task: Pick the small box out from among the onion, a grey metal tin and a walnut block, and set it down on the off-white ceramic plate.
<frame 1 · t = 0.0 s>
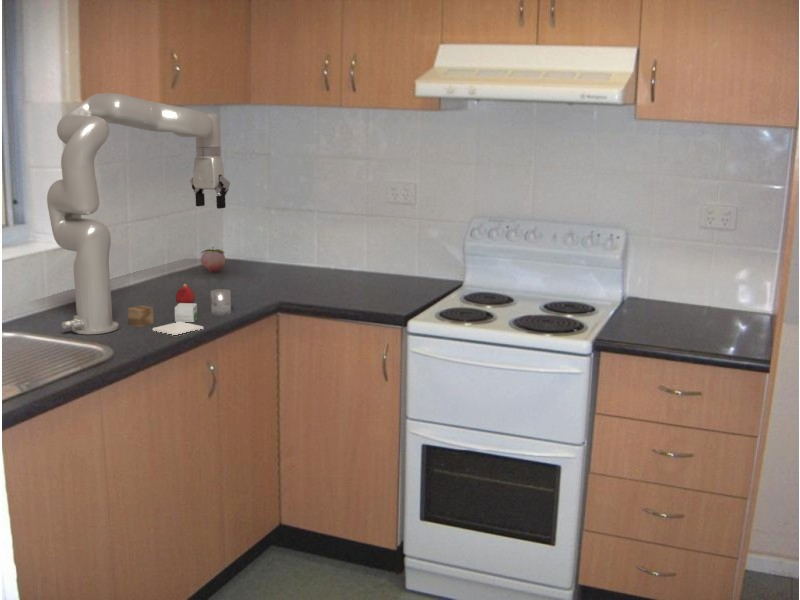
hand: (210, 207, 280), 31 cm above the worktop, tool pointing down, fingers open, 9 cm apart
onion: (185, 309, 277), on the worktop
walnut block: (141, 324, 257), on the worktop
small box: (186, 321, 262), on the worktop
tin: (221, 313, 272), on the worktop
plate: (178, 330, 251), on the worktop
decorative fruit: (214, 272, 338), on the worktop
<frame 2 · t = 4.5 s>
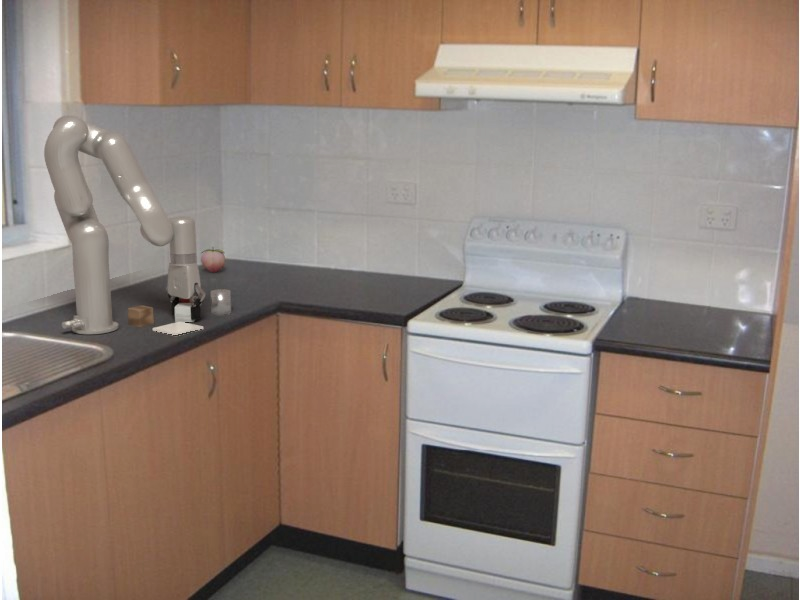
hand: (186, 316, 262), 1 cm above the worktop, tool pointing down, fingers closed on small box, 7 cm apart
small box: (186, 321, 262), on the worktop, touching gripper
everything else where it was.
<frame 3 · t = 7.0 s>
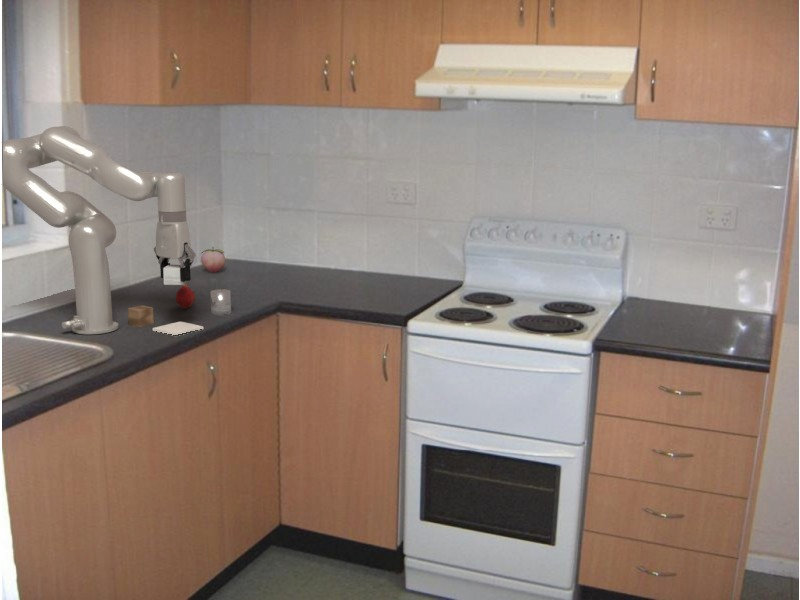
hand: (175, 278, 248), 15 cm above the worktop, tool pointing down, fingers closed on small box, 7 cm apart
small box: (176, 283, 248), point 13 cm above the worktop, touching gripper
everything else where it was.
when the fingers open (3 cm above the worktop, at t = 10.0 s): small box drops 1 cm, resting on plate.
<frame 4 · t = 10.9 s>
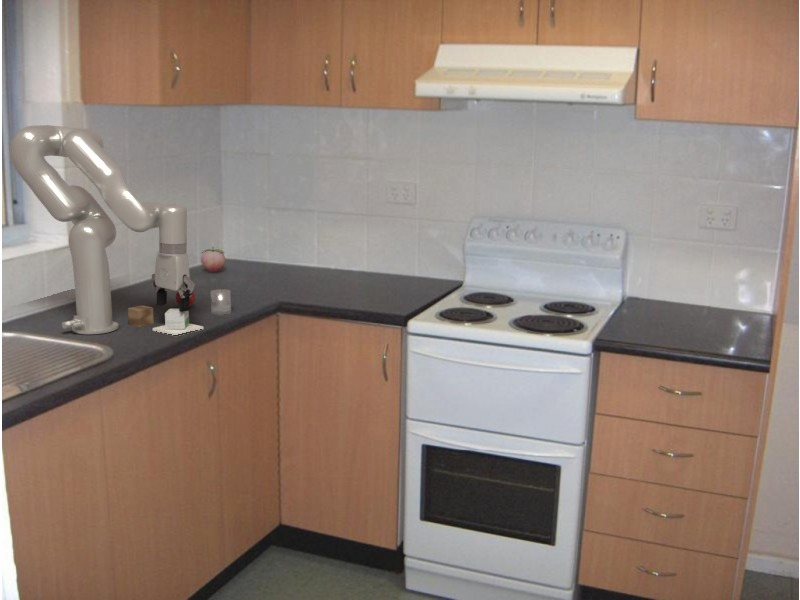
hand: (172, 308, 250), 6 cm above the worktop, tool pointing down, fingers open, 9 cm apart
small box: (177, 327, 251), point 1 cm above the worktop, touching plate
everything else where it was.
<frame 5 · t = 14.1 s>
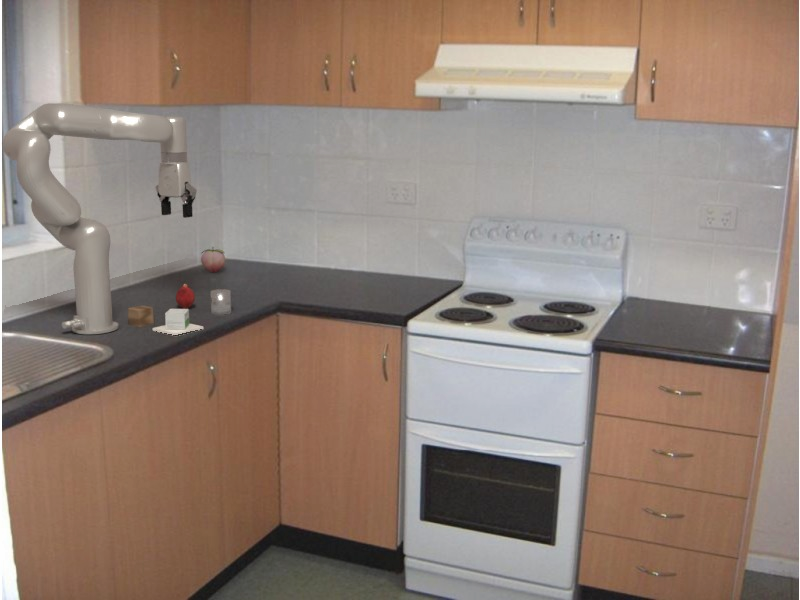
hand: (177, 215, 264), 30 cm above the worktop, tool pointing down, fingers open, 9 cm apart
nothing on the worktop moved.
at the end: small box inside the target area on the plate (0.1 cm from its centre), point 0.6 cm above the plate's base; small box tilted 0°; the gripper is holding nothing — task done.
